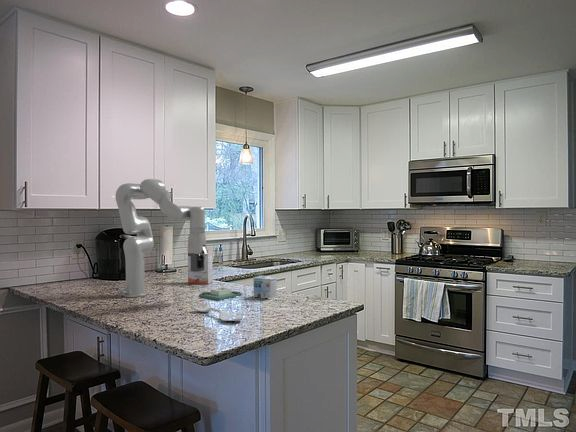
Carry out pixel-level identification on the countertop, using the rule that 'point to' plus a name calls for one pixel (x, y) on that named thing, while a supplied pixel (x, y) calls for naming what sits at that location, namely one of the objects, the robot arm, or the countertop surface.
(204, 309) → the spoon
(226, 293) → the board
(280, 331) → the countertop surface
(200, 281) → the cracker box
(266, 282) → the light bulb box
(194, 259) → the plug
